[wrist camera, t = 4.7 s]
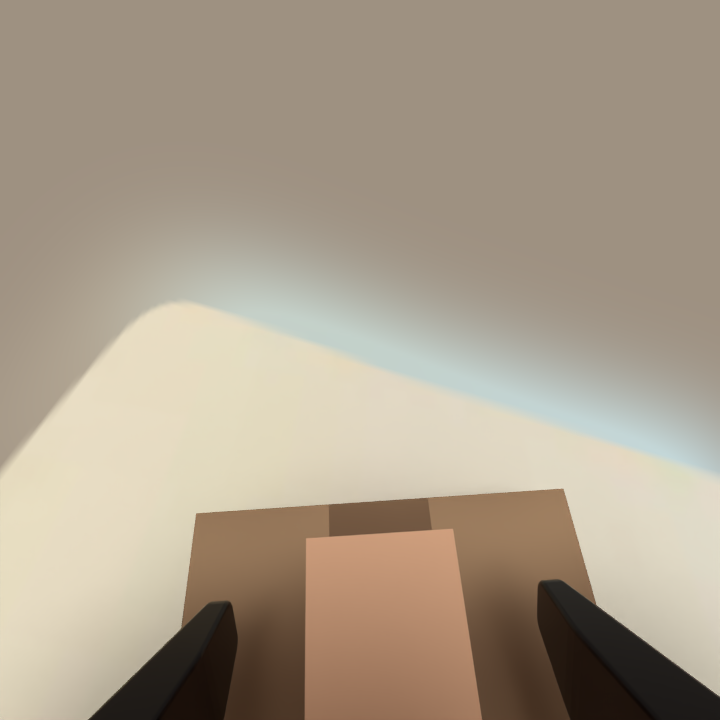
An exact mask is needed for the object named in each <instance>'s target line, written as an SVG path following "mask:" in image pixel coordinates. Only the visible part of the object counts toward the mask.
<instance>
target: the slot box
mask: <svg viewBox="0 0 720 720" xmlns="http://www.w3.org/2000/svg"><path fill="white" fill-rule="evenodd" d="M441 529H453V531H454V538H455V545H456V551H457V558H458V564H459V571H460V577H461V584H462V591H463V597H464V604H465V610H466V617H467V624H468V630H469V637H470V643H471V650H472V657H473V663H474V670H475V676H476V683H477V689H478V696H479V703H480V709H481V716H482V720H570V718H569V715H568V712H567V709H566V707H565V704H564V701H563V698H562V695H561V692H560V689H559V686H558V683H557V680H556V677H555V674H554V671H553V668H552V665H551V662H550V659H549V657H548V654H547V651H546V648H545V645H544V642H543V639H542V636H541V633H540V630H539V626H538V621H537V589H538V583H539V582H540V581H541V580H550V579H560V580H562V581H564V582H566V583H567V584H568V585H570V586H571V587H572V588H574V589H575V590H576V591H578V592H579V593H580V594H582V595H583V596H584V597H586V598H587V599H589V600H590V601H591V602H593V603H594V604H595V605H596V602H595V598H594V595H593V591H592V588H591V584H590V581H589V577H588V574H587V570H586V567H585V563H584V560H583V556H582V553H581V549H580V546H579V542H578V539H577V535H576V532H575V528H574V525H573V521H572V518H571V514H570V510H569V507H568V503H567V500H566V496H565V493H564V489H552V490H537V491H523V492H508V493H493V494H478V495H463V496H449V497H434V498H419V499H404V500H389V501H375V502H360V503H345V504H330V505H316V506H301V507H286V508H271V509H256V510H242V511H227V512H212V513H197V514H196V520H195V527H194V535H193V543H192V550H191V558H190V566H189V574H188V581H187V589H186V597H185V604H184V612H183V620H182V627H181V629H182V628H183V627H184V626H185V625H186V624H187V623H188V622H189V621H190V620H191V619H192V618H193V617H194V616H195V615H196V614H197V613H198V612H199V611H200V610H201V609H202V608H203V607H204V606H205V605H206V604H207V603H209V602H212V601H225V600H227V601H230V602H231V604H232V606H233V611H234V617H235V623H236V628H237V634H238V646H237V652H236V658H235V663H234V668H233V674H232V679H231V684H230V690H229V695H228V701H227V706H226V711H225V717H224V720H305V612H306V538H319V537H334V536H350V535H365V534H380V533H395V532H410V531H425V530H441Z"/></svg>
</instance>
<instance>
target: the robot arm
mask: <svg viewBox="0 0 720 720" xmlns="http://www.w3.org/2000/svg"><path fill="white" fill-rule="evenodd" d="M537 621H538V626H539V630H540V633H541V636H542V639H543V642H544V645H545V648H546V651H547V654H548V657H549V659H550V662H551V665H552V668H553V671H554V674H555V677H556V680H557V683H558V686H559V689H560V692H561V695H562V698H563V701H564V704H565V707H566V709H567V712H568V715H569V718H570V720H720V697H719V696H718V695H717V694H715V693H714V692H713V691H711V690H710V689H709V688H707V687H706V686H705V685H703V684H702V683H700V682H699V681H698V680H696V679H695V678H694V677H692V676H691V675H690V674H688V673H687V672H686V671H684V670H683V669H682V668H680V667H679V666H678V665H676V664H675V663H674V662H672V661H671V660H669V659H668V658H667V657H665V656H664V655H663V654H661V653H660V652H659V651H657V650H656V649H655V648H653V647H652V646H651V645H649V644H648V643H647V642H645V641H644V640H642V639H641V638H640V637H638V636H637V635H636V634H634V633H633V632H632V631H630V630H629V629H628V628H626V627H625V626H624V625H622V624H621V623H620V622H618V621H617V620H616V619H614V618H613V617H611V616H610V615H609V614H607V613H606V612H605V611H603V610H602V609H601V608H599V607H598V606H597V605H595V604H594V603H593V602H591V601H590V600H589V599H587V598H586V597H584V596H583V595H582V594H580V593H579V592H578V591H576V590H575V589H574V588H572V587H571V586H570V585H568V584H567V583H566V582H564V581H562V580H560V579H550V580H541V581H540V582H539V583H538V589H537ZM237 646H238V634H237V628H236V623H235V617H234V611H233V606H232V604H231V602H230V601H227V600H225V601H212V602H209V603H207V604H206V605H205V606H204V607H203V608H202V609H201V610H200V611H199V612H198V613H197V614H196V615H195V616H194V617H193V618H192V619H191V620H190V621H189V622H188V623H187V624H186V625H185V626H184V627H183V628H182V629H181V630H180V631H179V632H177V633H176V634H175V635H174V636H173V637H172V638H171V639H170V640H169V641H168V642H167V643H166V644H165V645H164V646H163V647H162V648H161V649H160V650H159V651H158V652H157V653H156V654H155V655H154V656H153V657H152V658H151V659H150V660H149V661H148V662H147V663H146V664H145V665H144V666H143V667H142V668H141V669H140V670H139V671H138V672H137V673H136V674H135V675H133V676H132V677H131V678H130V679H129V680H128V681H127V682H126V683H125V684H124V685H123V686H122V687H121V688H120V689H119V690H118V691H117V692H116V693H115V694H114V695H113V696H112V697H111V698H110V699H109V700H108V701H107V702H106V703H105V704H104V705H103V706H102V707H101V708H100V709H99V710H98V711H97V712H96V713H95V714H94V715H93V716H92V717H91V718H89V719H88V720H224V717H225V711H226V706H227V701H228V695H229V690H230V684H231V679H232V674H233V668H234V663H235V658H236V652H237Z"/></svg>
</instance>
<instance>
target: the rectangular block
mask: <svg viewBox="0 0 720 720" xmlns="http://www.w3.org/2000/svg"><path fill="white" fill-rule="evenodd" d="M305 720H482V716H481V709H480V703H479V696H478V689H477V683H476V676H475V670H474V663H473V657H472V650H471V643H470V637H469V630H468V624H467V617H466V610H465V604H464V597H463V591H462V584H461V577H460V571H459V564H458V558H457V551H456V545H455V538H454V531H453V529H441V530H425V531H410V532H395V533H380V534H365V535H350V536H334V537H319V538H306V612H305Z"/></svg>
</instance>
